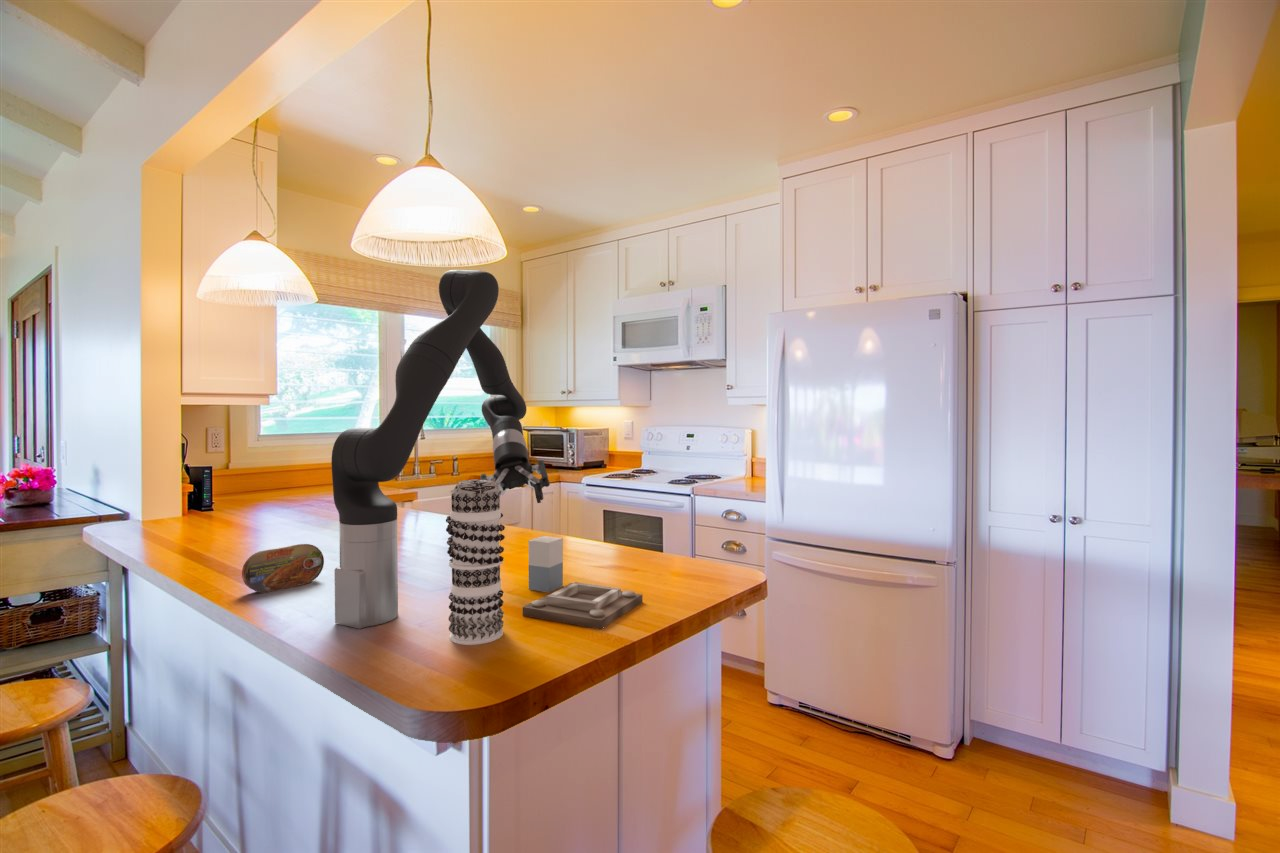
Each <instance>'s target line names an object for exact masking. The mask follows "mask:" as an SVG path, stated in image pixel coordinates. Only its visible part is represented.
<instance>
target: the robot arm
mask: <svg viewBox="0 0 1280 853" xmlns="http://www.w3.org/2000/svg"><path fill="white" fill-rule="evenodd" d="M499 288H500V287H499V283H498V280H497V278H496V277H495V276H494V275H493V273H490V272H487V271H485V270H484V271H483V270H476V269H473V270H472V269H451V270H450V269H449V270H447V271H445V272H444V273H443V274H442V275H441V277H440V278H439V283H438V294H439V298H440V301H441V304H442V306H443V309H444V311H445V313H446V315H447V317H445V318H444V319H442V320H441V321H439V322H437V323H435V324H434V325H432V326H431V327H429V328H428V329H426V330H425V331H423V332H422V333H420V334H419V335H418V336H417V337H416V338H414V339H413V341H411V344H409V347H408V348H407V349H406V350H405V353H404V354H403V356H402V357H401V359H400V361H399V362H398V364H397V367H396V371H395V379H394V380H395V381H394V382H395V401H394V403H393V405H392V407H391V409H390V410H389V412H388V414H387V416H386V417H385V419H384V420H382V422H381V424H380V425H379V426H378V427H376V428H375V427H374V428H373V427H372V428H371V427H356V428H348V429H346V430H344V431H343V432H341V433H340V434H339V435H338V436H337V437H336V439H335V441H334V443H333V447H332V450H331V464H330V465H331V479H332V492H333V495H332V496H333V502H334V505H335V508H336V511H337V512H338V517H339V518H338V520H339V521H338V522H339V523H338V524H339V566H336V567H335V568H334V624H336V625H337V624H338V625H340V626H341V625H342V626H345V627H350V628H356V629H363V628H365V627H371V626H377V625H383V624H386V623H388V622H391V621H392V620H395V619H396V618H398V616H399V579H398V578H399V572H398V570H399V569H398V568H399V564H398V563H399V562H398V559H399V557H398V554H399V553H398V550H399V549H398V547H399V546H398V545H399V544H398V542H399V541H398V540H399V539H398V536H399V535H398V505H397V504H396V502H395V501H394V500H392V499H391V498H389V497H388V496H387V495H385V494H384V493H383V491H382V490H381V488H380V485H379V484H380V483H384V482H385V483H386V482H389V481H392V480H393V479H395V478H397V477H398V476H399V475H400V474H401V472H402V471H403V470H404V469H405V466H406V465H407V463H408V461H409V458H410V456H411V454H412V452H413V450H414V447H415V445H416V442H417V440H418V439H419V438H418V437H419V435H420V433H421V431H422V429H423V426H424V424H425V423H426V420H427V418H428V416H429V414H430V413H431V410H432V409H433V407H434V405H435V403H436V401H437V399H438V398H439V396H440V395H441V392H442V391H443V389H444V388H445V386H446V384H447V383H448V381H449V379H450V378H451V376H452V374H453V373H454V371H455V368H456V367H457V365H458V362H459V361H460V359H461V357H462V356H463V354H464V352H465V351H466V352H468V354H469V357H470V360H471V363H472V364H473V366H474V369H475V370H474V371H475V373H476V375H477V376H476V377H477V379H478V382H479V384H480V388H481V389H482V391H483V392H484V393H485V394H486V395H491V397H488V398H486V399H485V400H484V401H483V402H482V404H481V413H482V416H483V418H484V420H485V421H486V424H487V425H488V426H489V429H490V430H491V436H492V454H493V462H494V473H493V474H491V475H487V474H486V473H482V474H481V475H480V477H479V478H480V479H479V480H491V481H494V482H495V483H496V485H497V487H498V488H499V489H502V491H500V497H501V496H503V495H504V494H505V493H506V492H507V490H512V489H515V488H521V487H524V485H526V486H527V487H528V488H530V489H533V490H534V494H535V500H536V502H537V504H541V503H542V501H543V500H544V494H543V488H544V487H546V488H548V487H549V486H550V485H551V484H550V483H551V482H550V480H549V476H548V473H547V469H546V465H545V462H544V460H542V459H541V460H539V461H538V462H537V464H533V465H532V464H530V459H529V453H528V447H527V442H526V440H525V436H524V432H523V430H524V429H523V426H522V423H521V421H520V420H522V419H524V418H525V416H526V414H527V405H526V401H525V399H524V398H523V396H522V394H521V393H520V392H519V390H518V389H517V388H516V387H515V385H514V383H513V381H512V379H511V377H510V374H509V370H508V367H507V363H506V360H505V358H504V356H503V353H502V352H501V350H500V348H499V347H498V346H497V345H496V344H495V343H494V342H493V340H492V339H490V338H489V336H488V335H487V334H486V333H485V332H484V330H483V329H482V328H481V327H482V326H483V324H484V323H485V322H486V320H487V319H488V318H489V316H490V315H491V314H492V313H493V311H494V309H495V307H496V305H497V303H498V302H497V301H498V297H499V290H500V289H499ZM534 472H536V473H537V474H538V475H541V478H537V477H536V476H534V475H533V473H534Z"/></svg>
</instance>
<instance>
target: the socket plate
mask: <svg viewBox="0 0 1280 853" xmlns="http://www.w3.org/2000/svg"><path fill="white" fill-rule="evenodd" d="M642 603H643V593H635V591H634V590H624V591H622V588H620V587H611V586H605V585H598V584H592V583H584V582H578V581H577V582H576V581H575V582H571V583H568V584H567V585H566V586H562V587H560V588H558V590H557V589H556V590H554V591H552V592H550V593H549V594H547V595H544V596H542V597H540V598H538V599H535V600H532V601H531V603H528V604H526V605H524V606H522V616H524V617H525V616H526V617H530V618H537V619H542V620H548V621H553V622H559V623H564V624H571V625H576V626H580V627H581V626H582V627H585V628H591V627H594V628H593V629H597V628H598V629H597V630H602V628H603V627H604V628H606V627H607V626H609V625H610V624H612V623H614V622H615V621H616V620H618V619H619V618H621V617H622V616H623V615H626V614H627V613H628V612H630V611H631V610H633V609H634V608H636V607H637V606H639V605H640V604H642ZM611 622H612V623H611ZM608 624H609V625H608ZM605 626H606V627H605ZM604 628H603V629H604Z"/></svg>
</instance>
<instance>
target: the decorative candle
mask: <svg viewBox="0 0 1280 853" xmlns="http://www.w3.org/2000/svg"><path fill="white" fill-rule="evenodd" d="M500 491H502V489H499V488H498V487H497V485H496V483H495V481H491V480H480V479H466V480H460V481H459V482H458V483H456V485H455V487H454V489H452V490H450V491H449V493H451V500H450V501H451V510H450V514H449V515H448V516H446V519H445V522H446V523H447V524H448V525H447V527H446V528H445V531H446V532H447V534H448V535H450V536H449V537H448V538H447V541H446V544H447V546H449V547H448V550H446V551H447V552H446V553H447V555H448V556H449V557H450V559H449V562H448V567H450V568H451V583H450V593H449V595H448V599H449V600H450V602H449V605H448V609H449V610H450V611H451V612H450V614H449V616H448V621H449V625H448V631H449V632H450V635H449V640H450V641H451V642H452V643H453V644H454V643H455V644H457V645H461V646H462V645H465V646H475V645H483V644H484V645H485V644H487V643H491V642H494V641H497V640H499V639H500V638H501V637H503V635H504V628H503V627H504V620H503V618H504V614H505V613H504V611H503V609H502V608H501V607H503V605H504V600H503V599H502V597H503V595H504V590H503V589H502V578H501V565H502V564H503V562H504V557H503V556H502V555H500V554H502V553H503V552H504V551H505V548H504V546H501V545H500V542H501V541H503V540H504V539H505V538H506V536H505V535H504V534H502V533H500V532H503V531H504V530H505V528H506V526H505V525H503V524H502V523H500V519H501V518H503V516H504V514H503V513H502V507H500V506H501V505H500V504H501V503H500V502H501V500H500V499H501V496H500Z"/></svg>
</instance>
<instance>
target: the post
mask: <svg viewBox="0 0 1280 853" xmlns="http://www.w3.org/2000/svg"><path fill="white" fill-rule="evenodd" d="M563 556H564V540H563V537H554V536H546V535H542V536H538V537H535V538H533V539H530V540H528V590H531V591H538V592H543V593H552V592H555V591H557V589H558V590H559V589H561V588H563V587H564V566H563V565H564V557H563Z"/></svg>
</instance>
